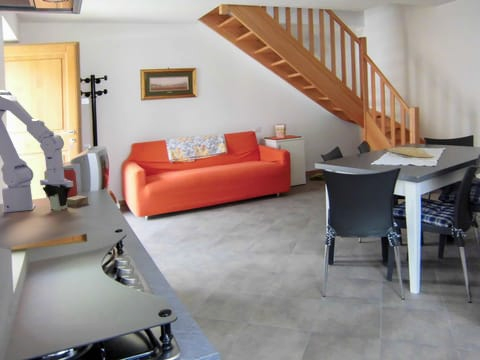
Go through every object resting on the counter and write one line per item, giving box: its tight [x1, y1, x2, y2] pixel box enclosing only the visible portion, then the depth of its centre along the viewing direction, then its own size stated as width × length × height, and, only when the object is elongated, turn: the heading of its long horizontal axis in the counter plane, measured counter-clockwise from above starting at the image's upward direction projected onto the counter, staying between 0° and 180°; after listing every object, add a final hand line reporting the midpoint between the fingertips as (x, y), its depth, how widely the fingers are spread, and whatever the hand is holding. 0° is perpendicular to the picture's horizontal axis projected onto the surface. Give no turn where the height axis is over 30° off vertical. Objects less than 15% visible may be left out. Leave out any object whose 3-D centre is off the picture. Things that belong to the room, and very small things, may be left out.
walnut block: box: [67, 195, 89, 208], centre depth 163 cm, size 6×6×3 cm
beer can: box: [63, 167, 79, 198], centre depth 177 cm, size 7×7×12 cm
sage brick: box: [49, 194, 68, 211], centre depth 156 cm, size 4×4×6 cm
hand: (58, 205), depth 156 cm, fingers closed on sage brick, 4 cm apart
